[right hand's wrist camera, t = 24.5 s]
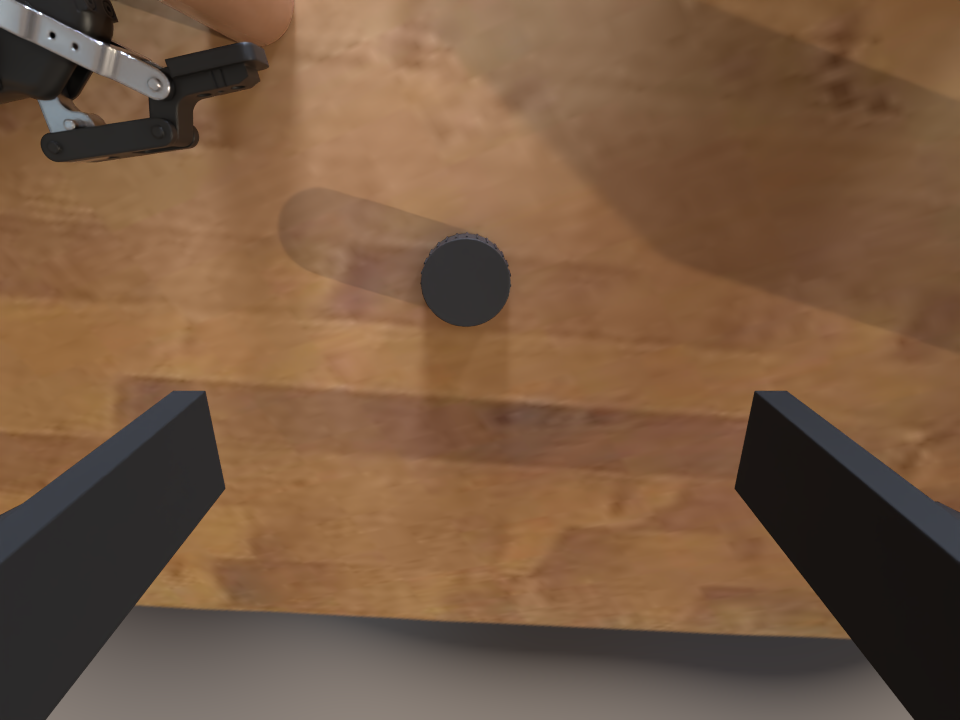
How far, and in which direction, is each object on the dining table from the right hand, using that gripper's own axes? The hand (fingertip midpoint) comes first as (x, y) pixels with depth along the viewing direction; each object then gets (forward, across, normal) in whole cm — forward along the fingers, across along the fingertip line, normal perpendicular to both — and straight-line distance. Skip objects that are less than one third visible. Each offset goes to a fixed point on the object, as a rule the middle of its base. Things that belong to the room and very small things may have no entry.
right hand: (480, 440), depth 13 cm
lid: (+20, +1, 0) cm, 20 cm away
